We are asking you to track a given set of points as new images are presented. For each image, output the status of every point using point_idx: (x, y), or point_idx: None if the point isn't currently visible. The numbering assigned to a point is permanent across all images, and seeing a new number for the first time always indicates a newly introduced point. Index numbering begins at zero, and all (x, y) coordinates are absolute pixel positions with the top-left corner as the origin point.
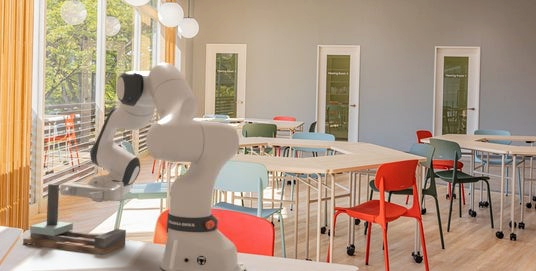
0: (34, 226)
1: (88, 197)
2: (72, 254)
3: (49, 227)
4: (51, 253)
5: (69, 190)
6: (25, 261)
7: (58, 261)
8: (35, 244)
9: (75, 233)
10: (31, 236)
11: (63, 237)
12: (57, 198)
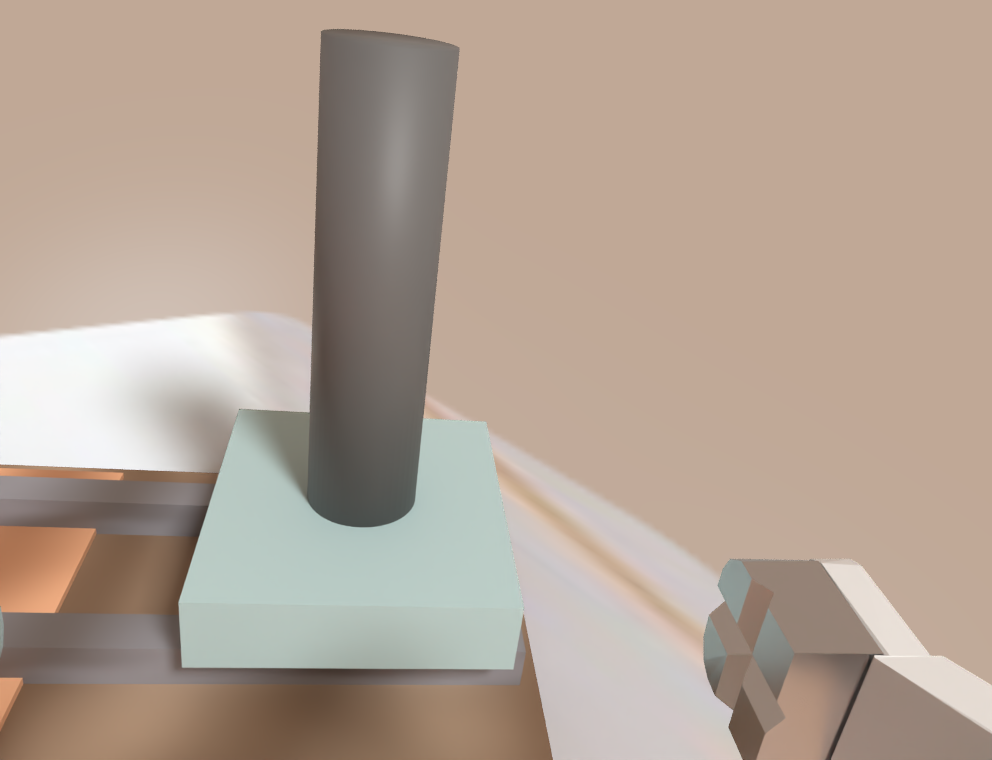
0: (445, 420)
1: (2, 639)
2: (7, 461)
3: (308, 426)
4: (170, 445)
5: (785, 666)
6: (234, 349)
7: (54, 372)
8: None
9: (101, 618)
10: None
11: (155, 484)
12: (316, 214)
